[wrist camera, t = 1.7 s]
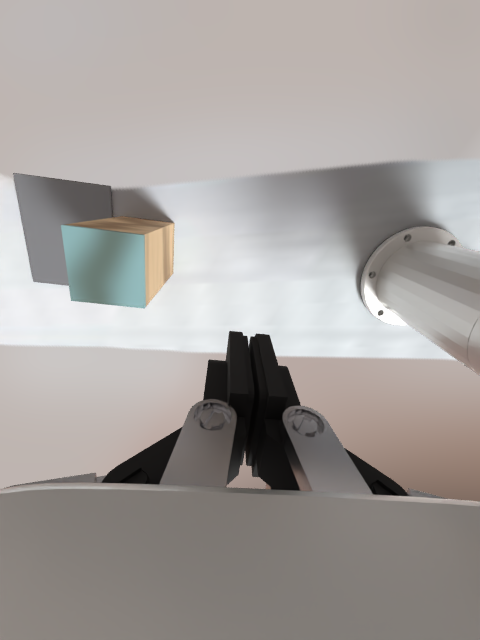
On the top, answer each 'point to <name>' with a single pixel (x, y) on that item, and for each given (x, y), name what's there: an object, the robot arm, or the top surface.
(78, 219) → the mat
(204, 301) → the top surface
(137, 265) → the oak block
